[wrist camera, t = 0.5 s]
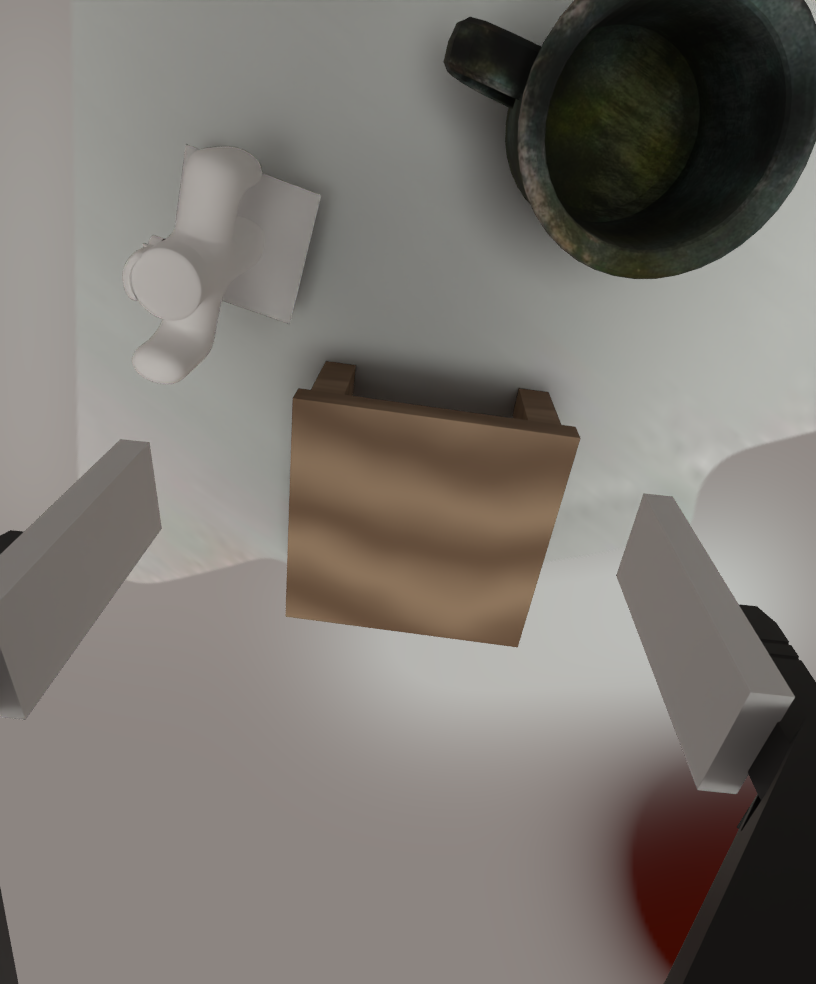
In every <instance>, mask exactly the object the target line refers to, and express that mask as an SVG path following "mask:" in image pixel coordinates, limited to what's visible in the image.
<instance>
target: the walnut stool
mask: <svg viewBox="0 0 816 984" xmlns="http://www.w3.org/2000/svg"><path fill="white" fill-rule="evenodd" d="M355 368H356V365H351V364H343V363H336V362H329V361H326V362H325V364H324V366H323V368H322V369H321V371H320V373H319V375H318V377H317V379H316V381H315V383H314V385H313V387H312V389H311V390H307V389H300V388H298V390H297V392H296V393H295V395H294V397H293V407H292V437H291V467H290V498H289V528H288V559H287V589H286V617H293V618H301V619H308V620H316V621H324V622H331V623H338V624H346V625H354V626H361V627H368V628H376V629H384V630H391V631H399V632H406V633H414V634H421V635H429V636H436V637H444V638H452V639H459V640H466V641H474V642H481V643H489V644H497V645H504V646H512V647H518V644H519V641H520V638H521V634H522V630H523V628H524V624H525V621H526V617H527V614H528V611H529V608H530V604H531V601H532V598H533V594H534V591H535V588H536V584H537V581H538V578H539V574H540V571H541V568H542V564H543V561H544V558H545V554H546V551H547V548H548V544H549V541H550V538H551V534H552V531H553V528H554V524H555V521H556V518H557V514H558V511H559V508H560V505H561V501H562V498H563V495H564V491H565V488H566V485H567V481H568V478H569V475H570V471H571V468H572V465H573V461H574V458H575V455H576V451H577V448H578V445H579V441H580V436H579V434H578V432H577V429H576V427H572V426H565V425H561V423H560V420H559V418H558V415H557V413H556V410H555V408H554V405H553V403H552V400H551V397H550V395H549V392H543V391H535V390H528V389H521V388H519V390H518V395H517V399H516V403H515V407H514V412H513V418H508V417H500V416H493V415H486V414H479V413H472V412H465V411H457V410H450V409H443V408H436V407H429V406H422V405H414V404H407V403H400V402H393V401H386V400H379V399H371V398H364V397H357V396H353V391H354V379H355Z"/></svg>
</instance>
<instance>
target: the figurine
mask: <svg viewBox="0 0 816 984" xmlns="http://www.w3.org/2000/svg"><path fill="white" fill-rule="evenodd" d="M320 199H321V195H319V194H316V193H314V192H311V191H308V190H306V189H303V188H301V187H298V186H295V185H293V184H290V183H287V182H285V181H282V180H279V179H277V178H274V177H272V176H269V175H266V174H264V173H262V169H261V166H260V163H259V162H258V160H257V159H256V158H255V157H254V156H253V155H251V154H250V153H248V152H247V151H244V150H242V149H239V148H236V147H231V146H223V147H210V148H204V149H198V148H195V147H192V146H190V145H187V144H186V147H185V154H184V162H183V169H182V177H181V184H180V192H179V199H178V207H177V214H176V222H175V229H174V230H173V232H172V233H171V235H170V236H169V237H168V238H167V239H164V238H161V237H158V236H155V235H152V236H151V238H150V239H149V242H148V244H146V243H143V248H141V249H139V250H137V251H136V252H134V253H133V254H132V255H131V256H130V257H129V259H128V260H127V262H126V264H125V266H124V269H123V284H124V288H125V291H126V293H127V295H128V296H129V298H130V299H132V300H135V301H139V302H140V304H141V305H142V306H143V307H144V308H145V309H146V310H147V311H148V312H150V313H151V314H153V315H154V316H156V317H158V318H161V319H163V320H162V322H161V324H160V326H159V328H158V329H157V331H156V332H155V333H154V335H153V336H152V337H151V338H150V339H149V340H148V341H147V342H145V343H144V344H142V345H141V346H140V347H139V348H138V349H136V351H135V352H134V354H133V357H132V363H133V366H134V368H135V370H136V371H137V372H138V373H139V374H140V375H141V376H143V377H144V378H146V379H148V380H150V381H152V382H155V383H160V384H174V383H176V382H179V381H181V380H182V379H183V378H184V377H186V376H187V375H188V374H189V373H190V372H191V371H192V370H193V369H194V368H195V367H196V366H197V365H198V364H199V363H200V362H201V361H202V360H203V359H204V358H205V357H206V356H207V355H208V353H209V352H210V350H211V348H212V346H213V342H214V338H215V333H216V327H217V322H218V316H219V311H220V305H221V301H225V302H228V303H230V304H233V305H236V306H239V307H242V308H245V309H248V310H250V311H253V312H256V313H259V314H262V315H265V316H268V317H270V318H273V319H276V320H279V321H282V322H285V323H288V324H290V322H291V318H292V314H293V310H294V305H295V301H296V297H297V293H298V289H299V285H300V281H301V277H302V273H303V269H304V264H305V260H306V256H307V252H308V248H309V244H310V240H311V236H312V232H313V227H314V223H315V219H316V215H317V211H318V207H319V203H320Z"/></svg>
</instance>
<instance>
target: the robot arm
mask: <svg viewBox="0 0 816 984" xmlns="http://www.w3.org/2000/svg"><path fill="white" fill-rule="evenodd" d="M161 529H162V527H161V520H160V513H159V506H158V499H157V492H156V485H155V478H154V471H153V464H152V457H151V450H150V443H149V442H141V441H131V440H122V439H120V440H119V441H118V442H117V443H116V444H115V445H114V446H113V447H112V448H111V449H110V450H109V451H108V452H107V453H106V454H105V455H104V456H103V457H102V458H101V459H100V460H98V461H97V462H96V463H95V464H94V465H93V466H92V467H91V468H90V469H89V470H88V471H87V472H86V473H85V474H84V475H83V476H82V477H81V478H80V479H79V480H78V481H77V482H76V483H74V484H73V485H72V486H71V487H70V488H69V489H68V490H67V491H66V492H65V493H64V494H63V495H62V496H61V497H60V498H59V499H58V500H57V501H56V502H55V503H54V504H53V505H51V506H50V507H49V508H48V509H47V511H45V512H44V513H43V514H42V515H41V516H40V517H39V518H38V519H37V520H36V521H35V522H34V523H33V524H32V525H31V526H30V527H29V528H28V529H26V530H25V531H24V532H22V531H11V530H10V531H8V532H6V533H5V534H3V535H1V536H0V717H4V718H14V719H23V720H25V719H26V718H27V717H28V715H29V714H30V713H31V711H32V710H33V709H34V707H35V706H36V704H37V703H38V702H39V700H40V699H41V697H42V696H43V695H44V693H45V692H46V690H47V689H48V688H49V686H50V685H51V683H52V682H53V680H54V679H55V678H56V676H57V675H58V673H59V672H60V671H61V669H62V668H63V666H64V665H65V664H66V662H67V661H68V659H69V658H70V657H71V655H72V654H73V652H74V651H75V650H76V648H77V647H78V645H79V644H80V642H81V641H82V639H83V638H84V637H85V635H86V634H87V633H88V631H89V630H90V628H91V627H92V626H93V624H94V623H95V621H96V620H97V619H98V617H99V616H100V614H101V613H102V612H103V610H104V609H105V607H106V606H107V605H108V603H109V601H110V600H111V599H112V598H113V596H114V595H115V593H116V592H117V590H118V589H119V588H120V586H121V584H122V583H123V582H124V581H125V579H126V578H127V576H128V575H129V574H130V572H131V571H132V569H133V568H134V567H135V565H136V564H137V562H138V561H139V560H140V558H141V557H142V555H143V554H144V552H145V551H146V550H147V548H148V547H149V545H150V544H151V543H152V541H153V540H154V538H155V537H156V536H157V534H158V533H159V531H160V530H161ZM616 576H617V578H618V581H619V584H620V586H621V589H622V592H623V594H624V597H625V600H626V602H627V605H628V607H629V610H630V613H631V615H632V618H633V621H634V623H635V626H636V629H637V631H638V634H639V636H640V639H641V642H642V645H643V647H644V650H645V653H646V655H647V658H648V660H649V663H650V666H651V668H652V671H653V673H654V676H655V679H656V682H657V684H658V686H659V689H660V692H661V695H662V697H663V700H664V703H665V705H666V708H667V711H668V713H669V716H670V719H671V721H672V724H673V727H674V729H675V731H676V735H677V737H678V739H679V742H680V745H681V748H682V750H683V753H684V756H685V758H686V761H687V763H688V766H689V769H690V771H691V774H692V777H693V779H694V782H695V785H696V787H697V790H703V791H713V792H723V793H732V794H737V793H738V791H739V789H740V788H741V786H742V784H743V783H744V781H745V779H746V778H747V776H748V774H749V776H750V778H751V780H752V782H753V785H754V787H755V789H756V791H757V793H758V794H757V796H756V798H755V799H754V801H753V802H752V804H751V805H750V807H749V809H748V810H747V812H746V813H745V815H744V816H743V818H742V820H741V821H740V823H739V824H738V826H737V828H739V830H738V833H737V835H736V837H735V839H734V841H733V843H732V845H731V847H730V849H729V851H728V853H727V855H726V857H725V859H724V861H723V863H722V865H721V867H720V869H719V872H718V874H717V876H716V878H715V880H714V882H713V884H712V886H711V888H710V890H709V892H708V894H707V896H706V898H705V900H704V902H703V904H702V907H701V909H700V911H699V913H698V915H697V917H696V919H695V921H694V923H693V925H692V927H691V929H690V931H689V933H688V935H687V937H686V939H685V941H684V943H683V945H682V948H681V950H680V952H679V954H678V956H677V958H676V960H675V962H674V964H673V966H672V968H671V970H670V972H669V974H668V976H667V978H666V981H665V982H664V984H816V682H815V680H814V679H813V677H812V676H811V675H810V673H809V671H808V670H807V668H806V667H805V665H804V664H803V662H802V661H801V660H799V659H798V657H799V656H798V655H797V653H796V652H795V650H794V649H793V647H792V646H791V645H789V644H788V643H789V641H788V640H787V638H786V637H785V635H784V634H783V632H782V631H781V629H780V628H779V626H778V625H777V623H776V622H775V621H773V620H772V619H771V618H770V617H769V616H767V615H766V614H765V613H764V612H763V611H762V610H760V609H759V608H758V607H756V606H748V605H739V604H738V603H737V601H736V600H735V598H734V596H733V595H732V593H731V591H730V590H729V588H728V586H727V585H726V583H725V582H724V580H723V578H722V577H721V575H720V573H719V572H718V570H717V568H716V567H715V565H714V564H713V562H712V561H711V559H710V557H709V555H708V554H707V552H706V550H705V549H704V547H703V546H702V544H701V542H700V541H699V539H698V537H697V536H696V534H695V532H694V531H693V529H692V527H691V526H690V524H689V523H688V521H687V519H686V518H685V516H684V514H683V513H682V511H681V509H680V508H679V506H678V505H677V503H676V501H675V500H674V498H673V497H672V496H662V495H653V494H643V497H642V500H641V503H640V506H639V509H638V512H637V515H636V518H635V521H634V524H633V527H632V530H631V533H630V536H629V539H628V542H627V545H626V548H625V551H624V554H623V557H622V560H621V563H620V566H619V569H618V572H617V575H616ZM0 984H18V979H17V974H16V968H15V963H14V958H13V953H12V947H11V942H10V937H9V931H8V926H7V921H6V916H5V910H4V905H3V900H2V894H1V889H0Z"/></svg>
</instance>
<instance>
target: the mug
mask: <svg viewBox="0 0 816 984" xmlns="http://www.w3.org/2000/svg"><path fill="white" fill-rule="evenodd" d="M444 64H445V67H446V69H447V71H448V72H449V73H450V74H451V75H452V76H453V77H454V78H456V79H457V80H459V81H460V82H462V83H463V84H465V85H467V86H468V87H470V88H472V89H474V90H475V91H477V92H479V93H481V94H483V95H485V96H487V97H489V98H491V99H493V100H495V101H497V102H499V103H501V104H503V105H505V106H507V107H509V108H508V114H507V120H506V136H505V142H506V151H507V158H508V162H509V166H510V170H511V173H512V175H513V178H514V180H515V182H516V185H517V187H518V188H519V190H520V191H521V193H522V194H523V196H524V198H525V199H526V200H527V201H528V202H529V203H530V205H531V206H532V209H533V211H534V213H535V215H536V217H537V218H538V220H539V221H540V223H541V224H542V226H543V228H544V229H545V231H546V232H547V233H548V234H549V235H550V237H551V238H552V239H553V240H554V241H555V242H556V243H557V244H558V245H559V246H560V248H562V249H563V250H564V251H566V252H567V253H568V254H570V255H571V256H572V257H573V258H575V259H576V260H578V261H579V262H581V263H583V264H585V265H587V266H589V267H591V268H593V269H595V270H598V271H601V272H604V273H607V274H610V275H613V276H618V277H625V278H632V279H657V278H663V277H669V276H675V275H679V274H682V273H686V272H689V271H692V270H695V269H698V268H701V267H703V266H705V265H707V264H709V263H711V262H714V261H716V260H718V259H720V258H722V257H723V256H725V255H726V254H728V253H729V252H731V251H733V250H734V249H736V248H737V247H739V246H740V245H742V244H743V243H744V242H745V241H746V240H748V239H749V238H750V237H751V236H752V235H754V234H755V233H756V232H757V231H758V230H760V229H761V228H762V226H763V225H764V224H765V223H766V222H767V221H768V220H769V219H770V218H771V217H772V216H773V215H774V214H775V212H776V211H777V210H778V209H779V208H780V206H781V205H782V204H783V202H784V201H785V199H786V198H787V197H788V195H789V194H790V192H791V191H792V190H793V188H794V186H795V185H796V183H797V181H798V179H799V177H800V176H801V174H802V172H803V170H804V168H805V166H806V164H807V162H808V159H809V157H810V154H811V152H812V149H813V147H814V144H815V142H816V23H815V21H814V18H813V16H812V13H811V11H810V9H809V7H808V5H807V4H806V2H805V1H804V0H574V2H573V3H572V4H571V5H570V6H569V7H568V8H567V10H566V11H565V12H564V13H563V14H562V15H561V17H560V18H559V19H558V21H557V23H556V24H555V26H554V27H553V29H552V30H551V32H550V33H549V35H548V36H547V38H546V39H545V41H544V43H543V45H542V47H541V46H539V45H536V44H534V43H532V42H530V41H528V40H526V39H524V38H522V37H520V36H518V35H516V34H514V33H511V32H509V31H507V30H505V29H502V28H500V27H498V26H496V25H493V24H491V23H489V22H487V21H484V20H480V19H476V18H472V17H469V18H467V19H465V20H463V21H460V22H458V23H457V24H456V26H455V28H454V31H453V33H452V35H451V37H450V39H449V41H448V45H447V49H446V54H445V58H444Z"/></svg>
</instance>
